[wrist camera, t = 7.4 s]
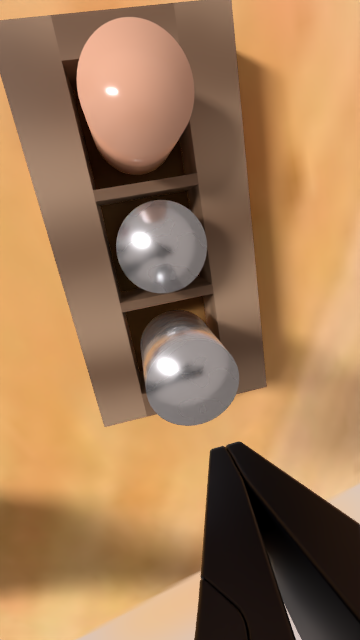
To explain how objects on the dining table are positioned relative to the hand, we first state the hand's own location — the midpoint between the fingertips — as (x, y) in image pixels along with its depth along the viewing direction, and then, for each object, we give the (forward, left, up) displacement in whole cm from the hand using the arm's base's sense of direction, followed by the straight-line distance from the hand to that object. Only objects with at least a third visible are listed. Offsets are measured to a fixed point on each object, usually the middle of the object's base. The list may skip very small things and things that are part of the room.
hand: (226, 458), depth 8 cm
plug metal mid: (+5, 0, -12) cm, 13 cm away
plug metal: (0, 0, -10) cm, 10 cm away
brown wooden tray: (+5, 0, -12) cm, 13 cm away
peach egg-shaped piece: (+11, 0, -11) cm, 15 cm away
